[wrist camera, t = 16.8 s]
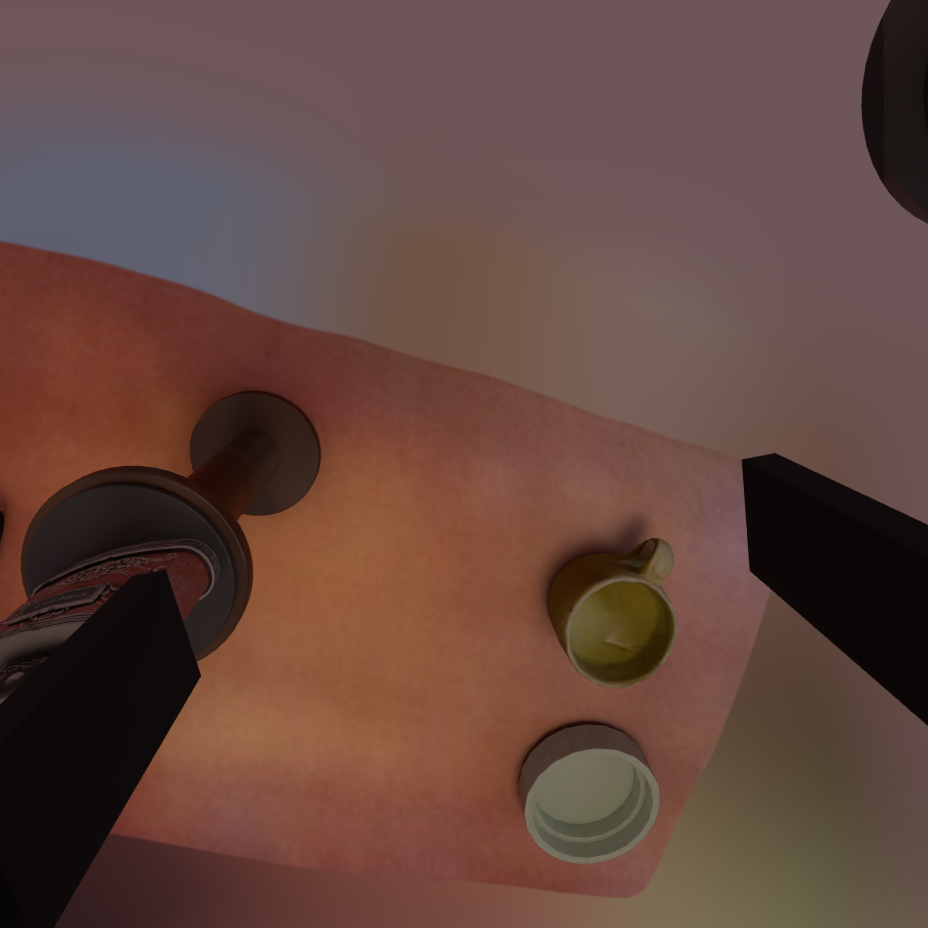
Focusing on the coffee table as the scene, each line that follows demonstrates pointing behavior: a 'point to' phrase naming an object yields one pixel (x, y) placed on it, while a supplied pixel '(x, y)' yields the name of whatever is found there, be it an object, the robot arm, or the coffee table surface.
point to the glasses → (1, 523)
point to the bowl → (588, 794)
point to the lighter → (96, 599)
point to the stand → (187, 504)
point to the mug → (615, 614)
